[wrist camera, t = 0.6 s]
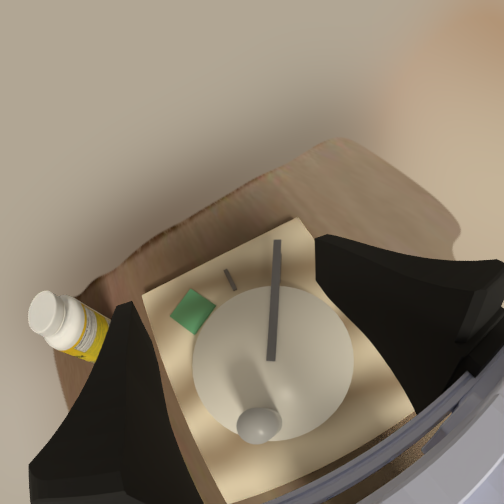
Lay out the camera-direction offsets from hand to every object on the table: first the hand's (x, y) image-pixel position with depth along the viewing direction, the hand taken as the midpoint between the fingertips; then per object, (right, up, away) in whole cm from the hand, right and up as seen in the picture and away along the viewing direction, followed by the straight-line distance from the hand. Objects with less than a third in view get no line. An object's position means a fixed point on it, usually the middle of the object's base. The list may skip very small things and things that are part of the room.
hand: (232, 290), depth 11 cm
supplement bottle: (-16, -9, +18) cm, 26 cm away
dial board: (+2, -8, +15) cm, 17 cm away
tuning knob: (+3, -6, +14) cm, 15 cm away
